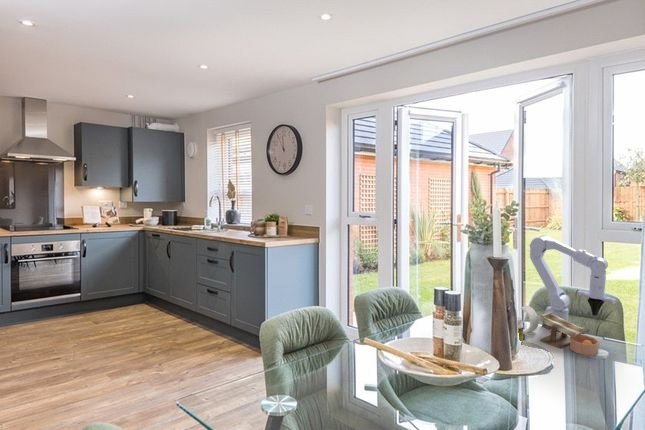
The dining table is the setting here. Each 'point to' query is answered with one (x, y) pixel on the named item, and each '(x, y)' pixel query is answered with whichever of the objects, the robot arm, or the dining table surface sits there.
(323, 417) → the dining table surface
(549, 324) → the beige curved piece
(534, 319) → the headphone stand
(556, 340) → the lever stand
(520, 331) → the pill bottle
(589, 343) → the ball
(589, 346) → the cup
